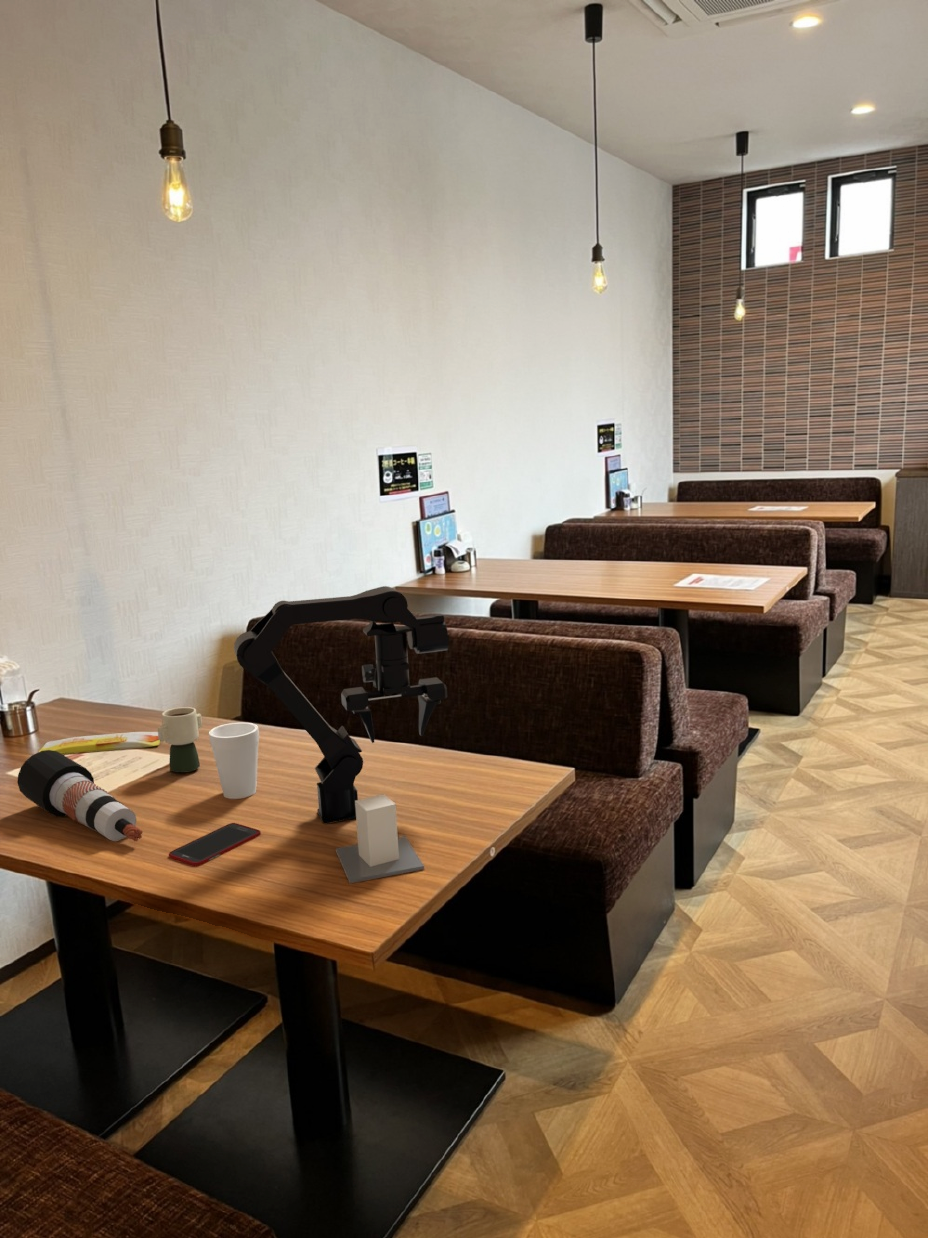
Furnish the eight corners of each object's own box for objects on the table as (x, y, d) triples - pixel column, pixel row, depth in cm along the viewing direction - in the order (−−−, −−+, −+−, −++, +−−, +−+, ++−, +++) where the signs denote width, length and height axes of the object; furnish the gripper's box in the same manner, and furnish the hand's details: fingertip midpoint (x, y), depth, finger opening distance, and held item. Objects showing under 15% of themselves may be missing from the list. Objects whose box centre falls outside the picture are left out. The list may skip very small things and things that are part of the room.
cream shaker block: (358, 854, 153) (355, 800, 152) (386, 847, 156) (383, 793, 154) (370, 866, 149) (366, 811, 147) (399, 858, 151) (395, 804, 149)
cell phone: (263, 835, 165) (262, 830, 165) (196, 869, 153) (196, 863, 153) (233, 826, 169) (232, 821, 169) (166, 858, 157) (166, 853, 157)
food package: (33, 751, 210) (46, 737, 220) (34, 760, 211) (47, 746, 220) (158, 740, 214) (165, 727, 223) (159, 749, 214) (166, 736, 224)
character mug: (195, 759, 205) (188, 702, 202) (216, 765, 201) (210, 707, 198) (153, 775, 196) (146, 716, 193) (174, 781, 192) (167, 721, 189)
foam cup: (273, 791, 184) (267, 728, 182) (232, 806, 178) (226, 741, 175) (246, 780, 191) (240, 719, 188) (206, 794, 184) (199, 731, 182)
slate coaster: (349, 883, 145) (349, 879, 145) (336, 851, 156) (335, 848, 156) (424, 869, 149) (424, 865, 149) (405, 839, 160) (405, 836, 160)
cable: (127, 875, 162) (98, 837, 156) (35, 810, 183) (7, 775, 177) (172, 832, 167) (146, 795, 161) (77, 774, 188) (51, 739, 182)
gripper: (429, 641, 179) (433, 719, 182) (333, 653, 174) (339, 732, 177) (446, 654, 169) (450, 736, 172) (344, 666, 163) (350, 751, 167)
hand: (397, 738), depth 172 cm, fingers open, 9 cm apart
